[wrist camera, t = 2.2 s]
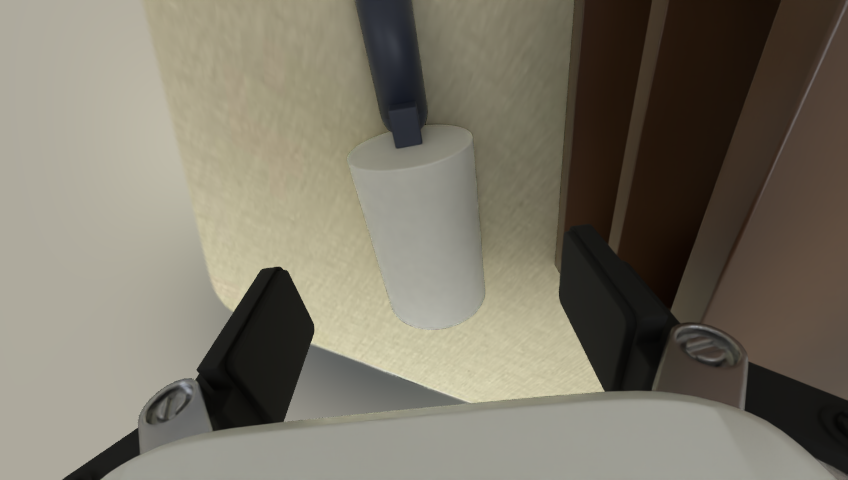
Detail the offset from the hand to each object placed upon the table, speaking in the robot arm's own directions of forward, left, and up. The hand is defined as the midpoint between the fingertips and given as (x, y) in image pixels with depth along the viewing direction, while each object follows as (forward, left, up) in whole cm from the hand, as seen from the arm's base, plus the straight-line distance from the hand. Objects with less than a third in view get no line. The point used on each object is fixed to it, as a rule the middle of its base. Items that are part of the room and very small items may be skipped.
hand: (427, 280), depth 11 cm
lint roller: (0, +2, -9) cm, 9 cm away
